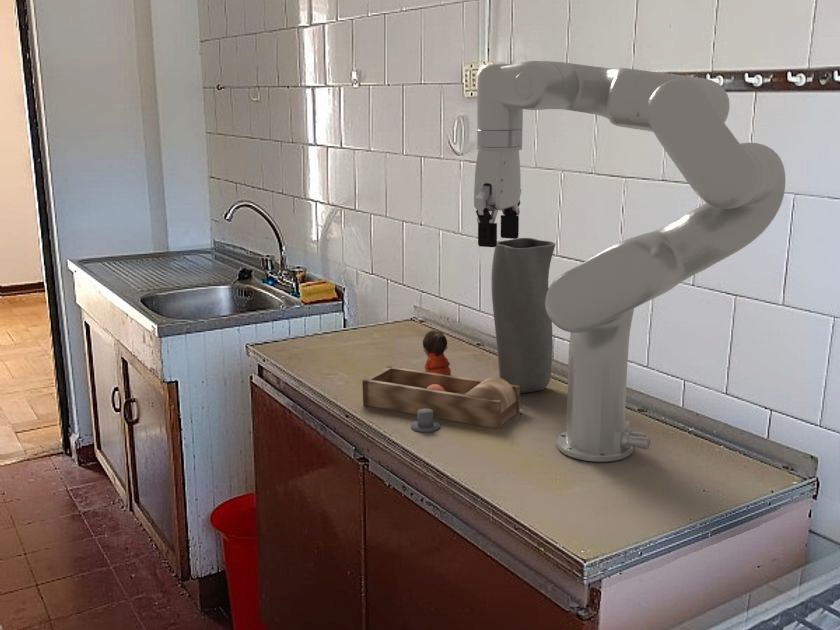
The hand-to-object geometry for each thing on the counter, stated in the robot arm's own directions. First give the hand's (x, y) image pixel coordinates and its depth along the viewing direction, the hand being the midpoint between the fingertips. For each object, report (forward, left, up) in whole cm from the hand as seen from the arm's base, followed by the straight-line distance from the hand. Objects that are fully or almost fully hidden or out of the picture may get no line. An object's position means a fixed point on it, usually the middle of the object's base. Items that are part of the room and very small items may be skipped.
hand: (498, 242), depth 148 cm
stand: (+11, +7, -33) cm, 36 cm away
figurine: (+19, -14, -34) cm, 41 cm away
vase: (+3, -20, -34) cm, 39 cm away
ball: (+14, -3, -31) cm, 34 cm away
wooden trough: (+13, -3, -35) cm, 37 cm away
